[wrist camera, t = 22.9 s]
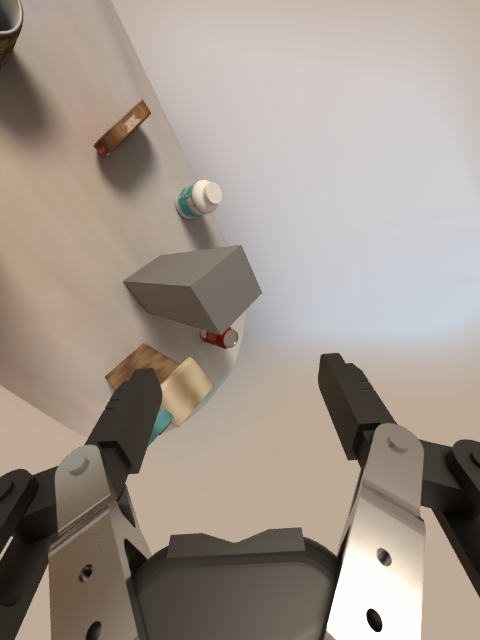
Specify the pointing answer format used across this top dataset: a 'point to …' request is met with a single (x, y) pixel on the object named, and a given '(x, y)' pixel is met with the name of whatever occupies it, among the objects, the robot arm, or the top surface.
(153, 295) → the charcoal plinth
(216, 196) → the pill bottle
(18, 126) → the top surface
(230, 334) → the soda can
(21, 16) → the ceramic cup
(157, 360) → the walnut block
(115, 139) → the tin
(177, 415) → the tan strapped package
